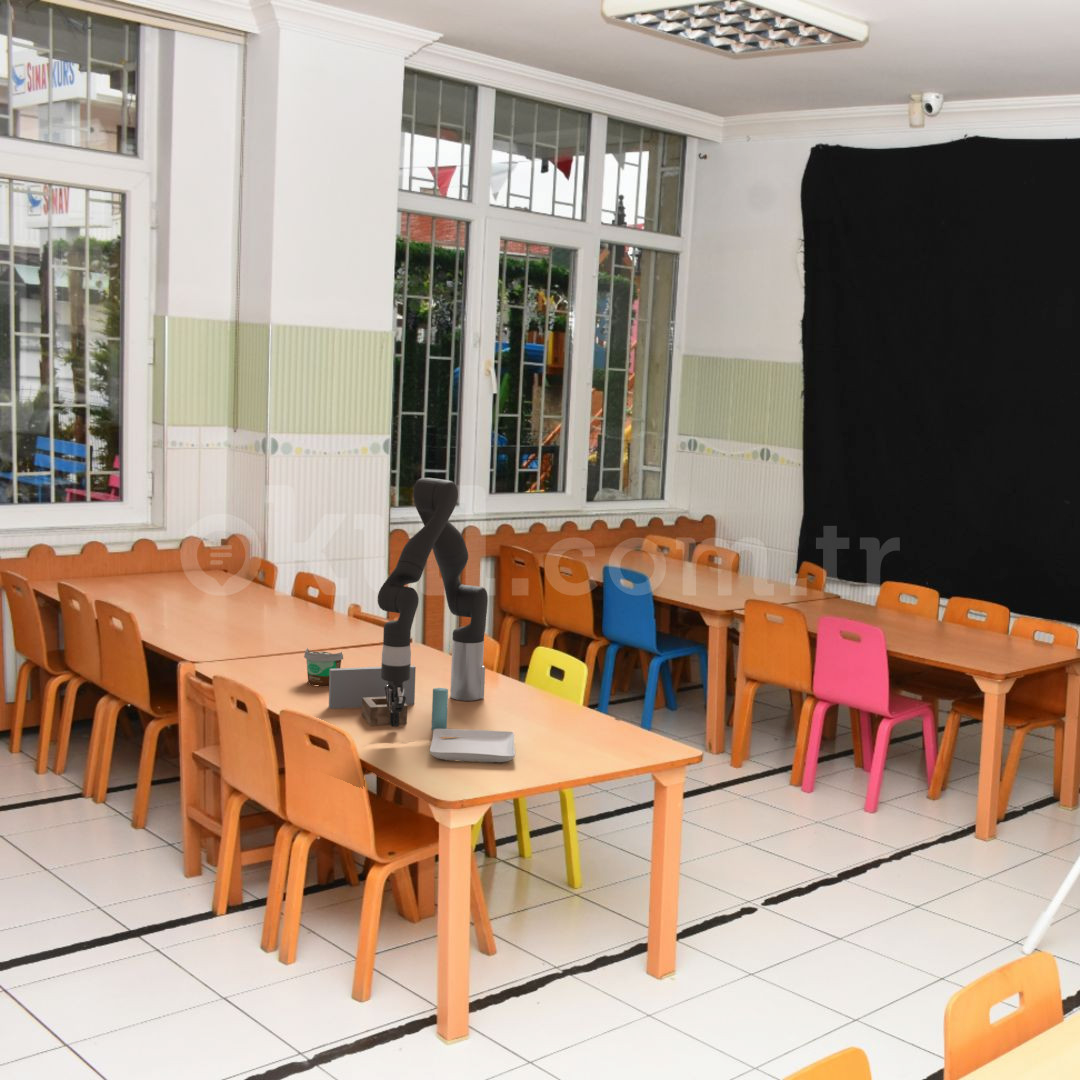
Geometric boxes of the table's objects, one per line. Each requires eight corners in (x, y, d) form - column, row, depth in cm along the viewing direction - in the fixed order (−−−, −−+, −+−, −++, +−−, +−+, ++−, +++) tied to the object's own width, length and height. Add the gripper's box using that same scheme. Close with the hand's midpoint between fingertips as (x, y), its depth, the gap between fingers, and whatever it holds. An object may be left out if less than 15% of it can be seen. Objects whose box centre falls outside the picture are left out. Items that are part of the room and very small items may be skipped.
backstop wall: (412, 706, 370) (413, 665, 369) (414, 708, 369) (415, 666, 367) (328, 710, 362) (329, 668, 360) (330, 712, 360) (331, 670, 358)
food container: (296, 684, 389) (296, 651, 387) (305, 680, 394) (306, 647, 393) (333, 689, 385) (334, 656, 384) (342, 684, 391) (343, 652, 389)
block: (397, 713, 358) (398, 695, 358) (406, 723, 349) (407, 705, 348) (361, 715, 355) (362, 697, 354) (370, 725, 346) (370, 707, 345)
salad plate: (513, 742, 342) (514, 729, 341) (514, 768, 321) (515, 754, 320) (432, 739, 341) (433, 727, 341) (428, 765, 320) (429, 751, 319)
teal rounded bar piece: (444, 731, 348) (445, 687, 346) (448, 735, 344) (449, 691, 342) (429, 732, 346) (431, 688, 345) (433, 736, 343) (435, 692, 341)
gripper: (416, 666, 334) (414, 732, 337) (403, 655, 347) (401, 718, 349) (388, 667, 332) (386, 733, 334) (376, 656, 344) (374, 719, 346)
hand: (394, 725), depth 342 cm, fingers closed
